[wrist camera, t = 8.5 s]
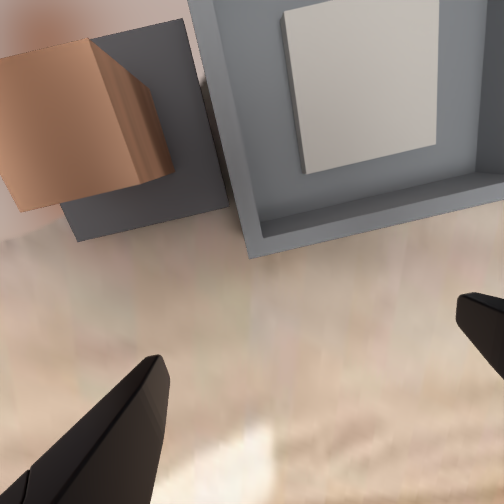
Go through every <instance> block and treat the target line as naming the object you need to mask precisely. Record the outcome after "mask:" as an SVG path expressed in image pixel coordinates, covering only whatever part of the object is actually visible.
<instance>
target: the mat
mask: <svg viewBox="0 0 504 504" xmlns="http://www.w3.org/2000/svg"><path fill="white" fill-rule="evenodd" d="M90 40H91V41H92V42H93V43H95V44H96V45H97V46H98V47H99V48H101V49H102V50H103V51H104V52H105V53H107V54H108V55H109V56H110V57H111V58H113V59H114V60H115V61H116V62H118V63H119V64H120V65H121V66H122V67H124V68H125V69H126V70H127V71H128V72H130V73H131V74H132V75H133V76H134V77H136V78H137V79H138V80H139V81H140V82H142V83H143V84H144V85H145V86H147V87H148V88H149V89H150V92H151V95H152V99H153V102H154V105H155V108H156V112H157V115H158V118H159V121H160V124H161V128H162V131H163V134H164V137H165V140H166V144H167V147H168V150H169V153H170V156H171V160H172V163H173V166H174V169H175V172H174V173H171V174H168V175H165V176H162V177H160V178H157V179H154V180H151V181H148V182H145V183H142V184H139V185H135V186H130V187H126V188H122V189H118V190H114V191H109V192H105V193H101V194H97V195H93V196H88V197H84V198H80V199H76V200H72V201H67V202H63V203H60V206H61V208H62V210H63V212H64V214H65V216H66V218H67V220H68V223H69V225H70V227H71V229H72V231H73V233H74V235H75V237H76V239H77V242H80V241H85V240H89V239H93V238H97V237H102V236H106V235H110V234H115V233H119V232H123V231H127V230H132V229H136V228H140V227H145V226H149V225H153V224H157V223H162V222H166V221H170V220H175V219H179V218H183V217H187V216H192V215H196V214H200V213H205V212H209V211H213V210H217V209H222V208H226V207H229V202H228V198H227V194H226V190H225V186H224V182H223V177H222V173H221V169H220V165H219V161H218V157H217V153H216V149H215V145H214V141H213V137H212V133H211V129H210V125H209V121H208V117H207V113H206V109H205V105H204V101H203V97H202V93H201V89H200V85H199V81H198V77H197V73H196V69H195V65H194V61H193V57H192V53H191V48H190V45H189V40H188V36H187V32H186V29H185V24H184V21H183V19H182V18H181V19H177V20H172V21H168V22H164V23H159V24H155V25H150V26H147V27H142V28H138V29H133V30H129V31H125V32H120V33H116V34H111V35H108V36H103V37H98V38H94V39H90Z"/></svg>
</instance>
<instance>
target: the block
mask: <svg viewBox="0 0 504 504" xmlns="http://www.w3.org/2000/svg"><path fill="white" fill-rule="evenodd" d="M174 172H175V169H174V166H173V163H172V160H171V156H170V153H169V150H168V147H167V144H166V140H165V137H164V134H163V131H162V128H161V124H160V121H159V118H158V115H157V112H156V108H155V105H154V102H153V99H152V95H151V92H150V89H149V88H148V87H147V86H145V85H144V84H143V83H142V82H140V81H139V80H138V79H137V78H136V77H134V76H133V75H132V74H131V73H130V72H128V71H127V70H126V69H125V68H124V67H122V66H121V65H120V64H119V63H118V62H116V61H115V60H114V59H113V58H111V57H110V56H109V55H108V54H107V53H105V52H104V51H103V50H102V49H101V48H99V47H98V46H97V45H96V44H95V43H93V42H92V41H91V40H90V39H89V38H86V39H81V40H77V41H72V42H69V43H64V44H60V45H56V46H51V47H47V48H43V49H39V50H35V51H30V52H26V53H22V54H18V55H14V56H9V57H5V58H1V59H0V175H1V177H2V179H3V181H4V182H5V184H6V186H7V188H8V190H9V192H10V194H11V196H12V198H13V199H14V201H15V203H16V205H17V207H18V209H19V211H20V212H25V211H30V210H34V209H38V208H42V207H46V206H51V205H55V204H59V203H63V202H67V201H72V200H76V199H80V198H84V197H88V196H93V195H97V194H101V193H105V192H109V191H114V190H118V189H122V188H126V187H130V186H135V185H139V184H142V183H145V182H148V181H151V180H154V179H157V178H160V177H162V176H165V175H168V174H171V173H174Z"/></svg>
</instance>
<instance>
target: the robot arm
mask: <svg viewBox="0 0 504 504" xmlns="http://www.w3.org/2000/svg"><path fill="white" fill-rule="evenodd" d="M456 322H457V324H458V326H459V327H460V329H461V330H462V331H463V332H464V334H465V335H466V336H467V337H468V338H469V340H470V341H471V342H472V343H473V344H474V346H475V347H476V348H477V349H478V350H479V352H480V353H481V354H482V355H483V356H484V358H485V359H486V360H487V361H488V363H489V364H490V365H491V366H492V367H493V368H494V369H495V371H496V372H497V373H498V374H499V375H500V376H501V377H502V378H503V379H504V299H502V298H498V297H493V296H489V295H485V294H481V293H476V292H472V293H467V294H462V295H460V296H459V297H458V299H457V308H456ZM169 388H170V376H169V373H168V370H167V368H166V365H165V363H164V360H163V358H162V356H161V355H159V354H158V355H153V356H148V357H146V358H145V359H143V360H142V361H141V362H140V363H139V364H138V365H137V366H136V367H135V368H134V369H133V370H132V371H131V372H130V373H129V374H128V375H127V376H126V377H124V378H123V379H122V380H121V381H120V382H119V383H118V384H117V385H116V386H115V387H114V388H113V389H112V390H111V391H110V392H109V393H108V394H107V395H106V396H105V397H103V398H102V399H101V400H100V401H99V402H98V403H97V404H96V405H95V406H94V407H93V408H92V409H91V410H90V411H89V412H88V413H87V414H86V415H85V416H83V417H82V418H81V419H80V420H79V421H78V422H77V423H76V424H75V425H74V426H73V427H72V428H71V429H70V430H69V431H68V432H67V433H66V434H65V435H63V436H62V437H61V438H60V439H59V440H58V441H57V442H56V443H55V444H54V445H53V446H52V447H51V448H50V449H49V450H48V451H47V452H46V453H44V454H43V455H42V456H41V457H40V458H39V459H38V460H37V461H36V462H35V463H34V464H33V465H32V466H31V467H30V470H27V471H25V472H24V473H23V474H22V475H21V476H20V477H19V478H18V479H17V480H16V481H15V482H14V483H13V484H12V485H11V486H10V487H9V488H8V489H7V490H5V491H4V492H3V493H2V494H1V495H0V504H150V501H151V497H152V492H153V487H154V482H155V478H156V473H157V468H158V464H159V459H160V454H161V449H162V445H163V439H164V433H165V425H166V416H167V406H168V397H169Z"/></svg>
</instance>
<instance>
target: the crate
mask: <svg viewBox="0 0 504 504" xmlns="http://www.w3.org/2000/svg"><path fill="white" fill-rule="evenodd" d="M187 1H188V5H189V9H190V13H191V17H192V22H193V26H194V30H195V34H196V39H197V43H198V47H199V51H200V55H201V59H202V63H203V68H204V72H205V76H206V80H207V85H208V89H209V93H210V97H211V101H212V106H213V110H214V114H215V118H216V122H217V126H218V131H219V135H220V139H221V143H222V147H223V152H224V156H225V160H226V164H227V168H228V173H229V177H230V181H231V185H232V189H233V193H234V198H235V202H236V206H237V210H238V214H239V219H240V223H241V227H242V231H243V235H244V239H245V244H246V248H247V252H248V256H249V259H252V258H257V257H261V256H265V255H270V254H274V253H278V252H282V251H287V250H291V249H295V248H299V247H304V246H308V245H312V244H317V243H321V242H325V241H329V240H334V239H338V238H342V237H346V236H351V235H355V234H359V233H363V232H368V231H372V230H376V229H381V228H385V227H389V226H393V225H398V224H402V223H406V222H410V221H415V220H419V219H423V218H428V217H432V216H436V215H440V214H445V213H449V212H453V211H457V210H462V209H466V208H470V207H474V206H479V205H483V204H487V203H492V202H496V201H500V200H504V0H187Z"/></svg>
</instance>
